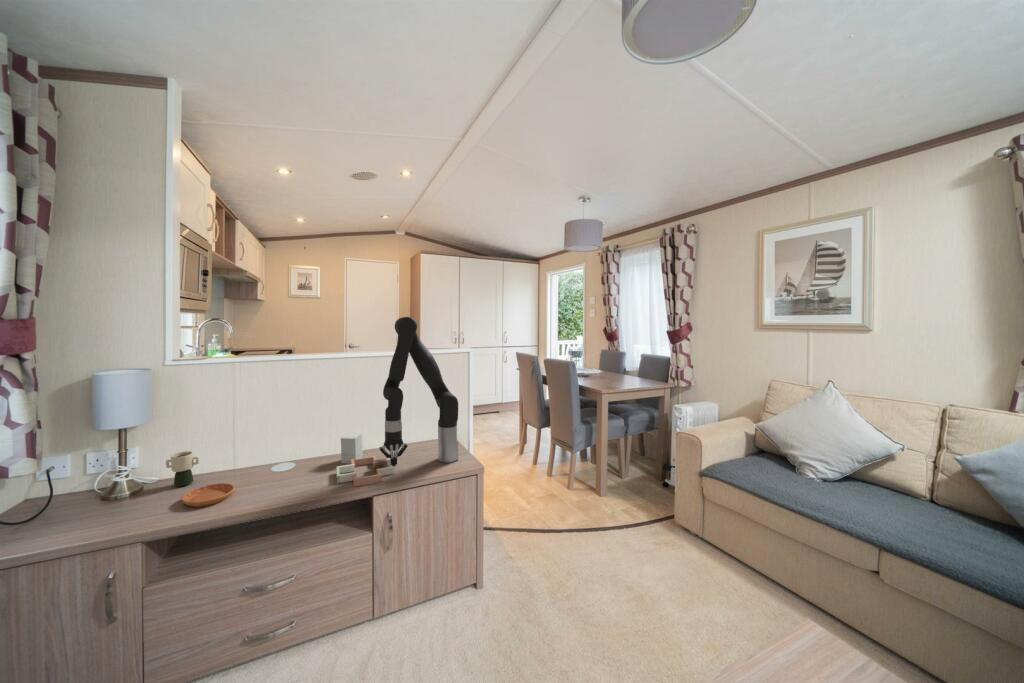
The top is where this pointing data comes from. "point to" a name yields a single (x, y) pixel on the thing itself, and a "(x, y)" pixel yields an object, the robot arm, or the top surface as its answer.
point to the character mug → (182, 467)
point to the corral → (365, 479)
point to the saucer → (208, 495)
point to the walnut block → (379, 465)
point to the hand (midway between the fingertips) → (393, 465)
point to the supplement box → (351, 447)
